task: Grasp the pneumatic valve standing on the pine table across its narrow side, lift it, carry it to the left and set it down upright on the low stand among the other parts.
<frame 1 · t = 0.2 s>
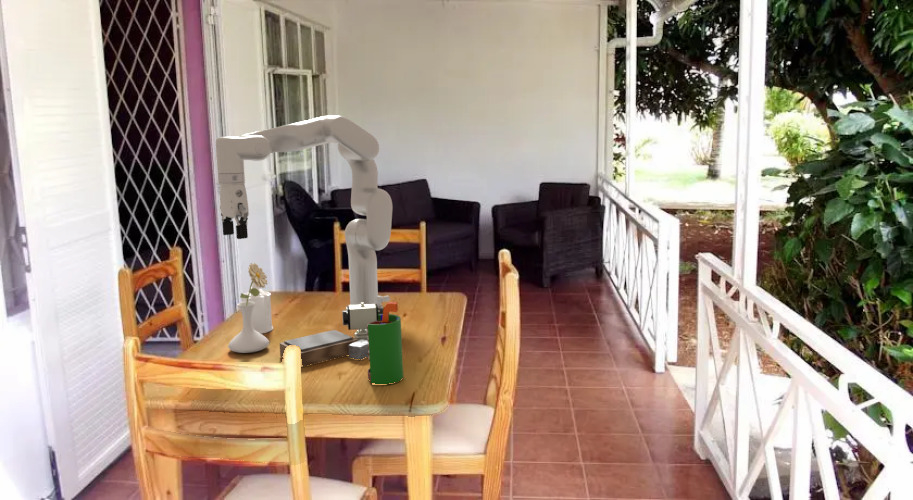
hand: (235, 236, 218), 31 cm above the table, tool pointing down, fingers open, 9 cm apart
flower in vase: (251, 349, 211), on the table
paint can: (259, 331, 230), on the table
grey rectangular block: (361, 356, 204), on the table
pneumatic valve: (363, 342, 217), on the table
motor: (385, 379, 186), on the table
stand: (319, 354, 205), on the table
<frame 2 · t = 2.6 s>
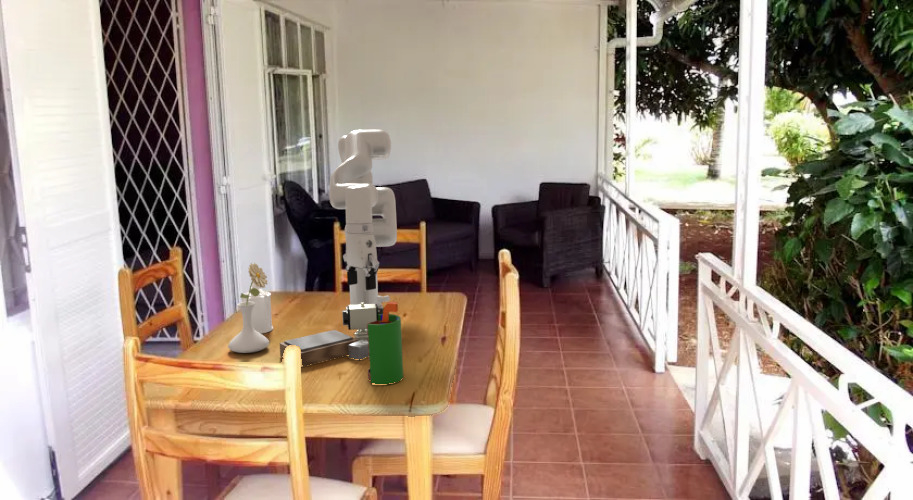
hand: (361, 286, 214), 17 cm above the table, tool pointing down, fingers open, 9 cm apart
nothing on the table moved.
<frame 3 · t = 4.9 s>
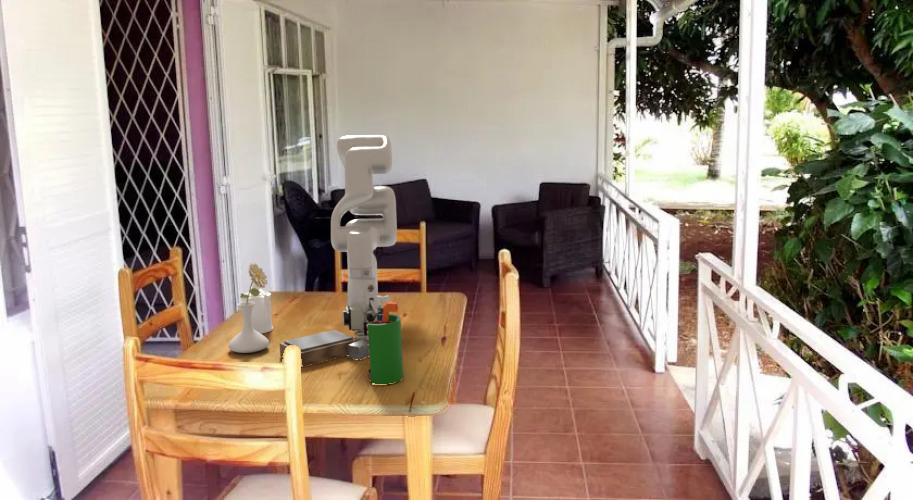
hand: (363, 331, 217), 3 cm above the table, tool pointing down, fingers closed on pneumatic valve, 5 cm apart
pneumatic valve: (363, 342, 217), on the table, touching gripper
everything else where it was.
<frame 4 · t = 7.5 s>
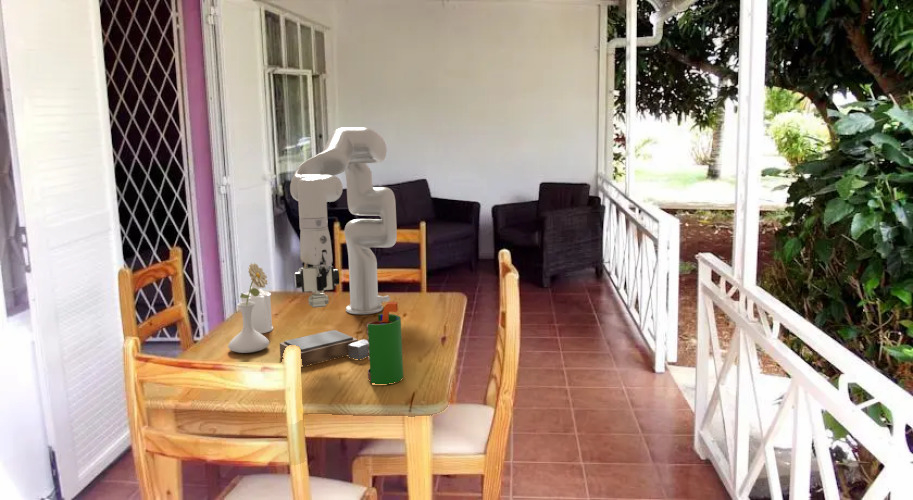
hand: (316, 287, 202), 19 cm above the table, tool pointing down, fingers closed on pneumatic valve, 5 cm apart
pneumatic valve: (318, 307, 202), point 14 cm above the table, touching gripper
everything else where it was.
when the fingers open (9 cm above the table, at t = 9.3 s): pneumatic valve stays where it is, resting on stand.
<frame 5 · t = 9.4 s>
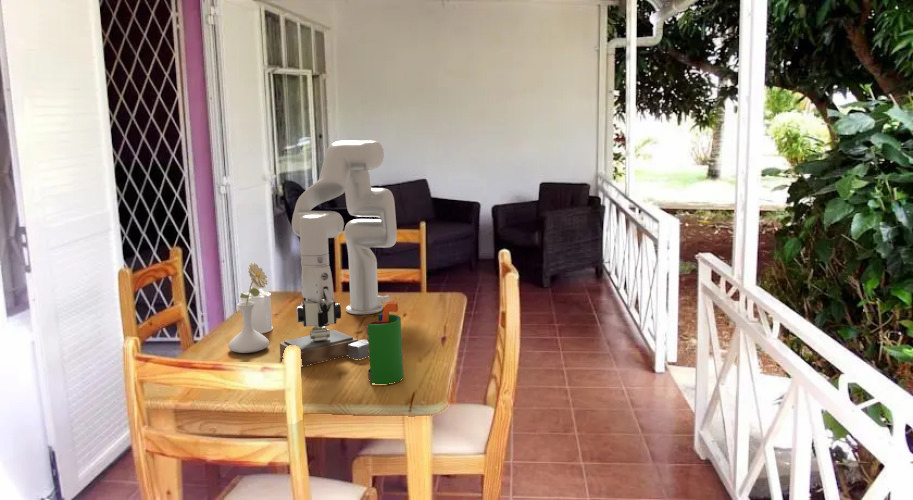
hand: (317, 323, 204), 9 cm above the table, tool pointing down, fingers open, 5 cm apart
pneumatic valve: (320, 340, 204), point 4 cm above the table, touching gripper, stand
everything else where it was.
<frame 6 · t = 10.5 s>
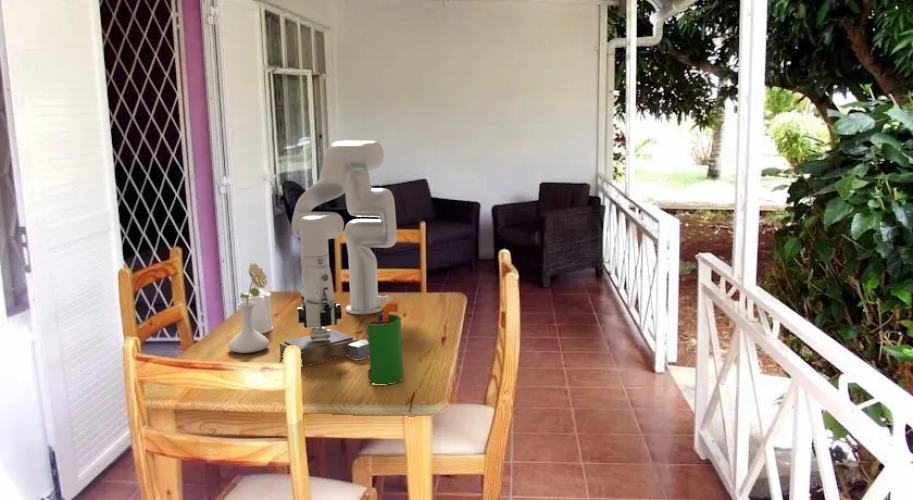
hand: (318, 322, 204), 9 cm above the table, tool pointing down, fingers open, 8 cm apart
pneumatic valve: (320, 340, 204), point 4 cm above the table, touching stand
everything else where it was.
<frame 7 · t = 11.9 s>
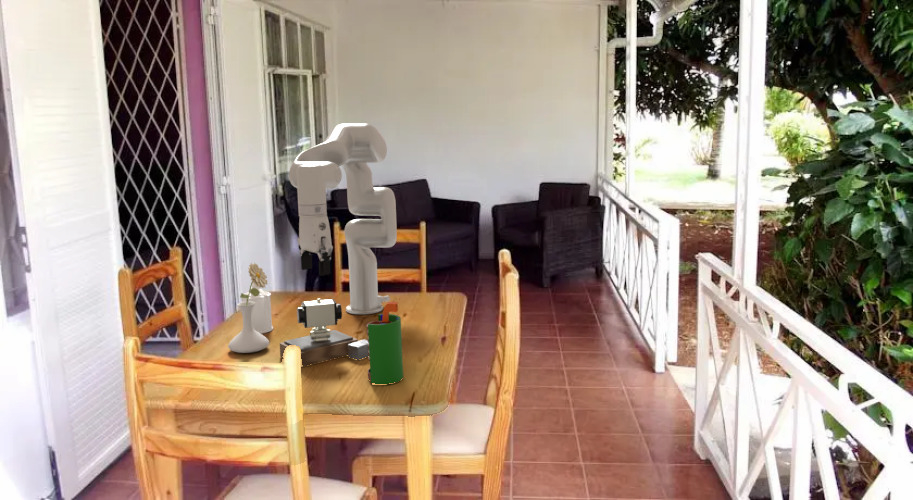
hand: (315, 271, 201), 24 cm above the table, tool pointing down, fingers open, 9 cm apart
nothing on the table moved.
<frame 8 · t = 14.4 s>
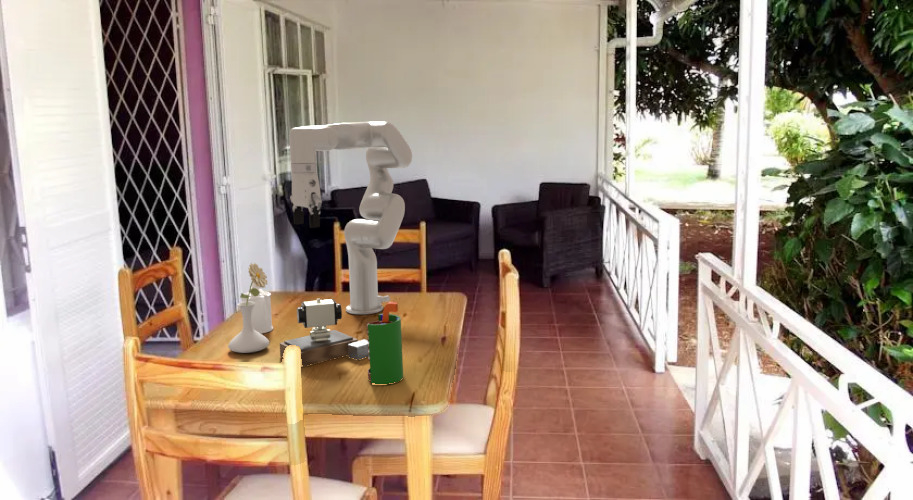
hand: (306, 225, 222), 33 cm above the table, tool pointing down, fingers open, 9 cm apart
nothing on the table moved.
at the end: pneumatic valve inside the target area on the stand (1.0 cm from its centre), point 4.4 cm above the stand's base; pneumatic valve tilted 0°; the gripper is holding nothing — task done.
